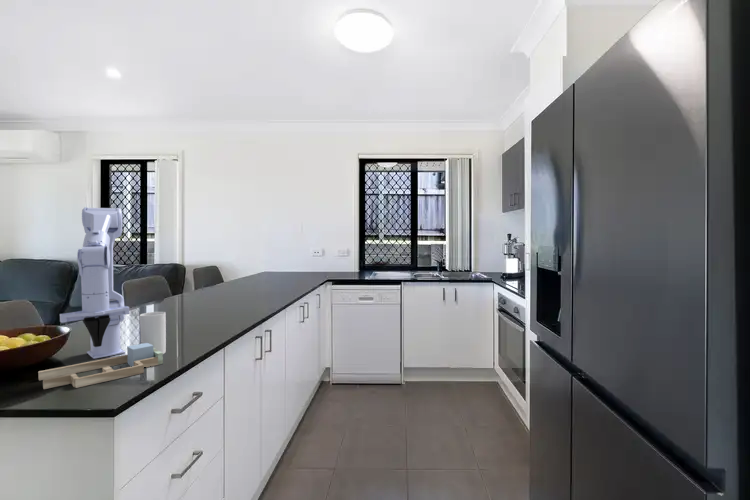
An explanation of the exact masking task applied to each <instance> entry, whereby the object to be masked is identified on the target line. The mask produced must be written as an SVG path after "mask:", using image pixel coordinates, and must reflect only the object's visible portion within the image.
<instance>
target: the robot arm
mask: <svg viewBox="0 0 750 500" xmlns="http://www.w3.org/2000/svg"><path fill="white" fill-rule="evenodd" d="M122 211H123V210H122V209H121V208H120V207H116V208H115V207H113V208H112V207H111V208H110V207H87V206H84V207H83V209H82V210H81V223H82V226H83V229H84V230H83V231H84V233H85V235H84V239H83V244H82V247H81V248H77V249H78V250H77V254H76V255H77V257H76V261H77V265H78V271H79V273H78V274H79V277H80V283H81V287H80V288H81V310H78V311H71V312H66V313H64V312H63V313H59V322H60V323H61V324H63V323H67V322H75V321H82V322H83V324H84V326H85V327H86V329H87V331H88V333H89V340H90V342H89V343H90V350H87V351H86V354H88V356H89V357H91V359H95V360H96V359H100V358H105V357H110V356H115V355H121V354H122V355H123V354H125V353H126V351H125V350H123V349H122V347H121V346H122V345H121V325H120V324H121V322H123V321H124V320H125V316H126V315H130V314H131V313H130V306H127V305H125V299H124V298H125V297H124V296H123V295H122V294H121V293H118V292H117V291H115V290H114V245H115V241H116V239H117V238H120V237H122V233H123V212H122Z"/></svg>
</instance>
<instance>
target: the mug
mask: <svg viewBox="0 0 750 500" xmlns="http://www.w3.org/2000/svg"><path fill="white" fill-rule="evenodd" d="M166 315H167V314H166V311H150V312H145V313H144V312H143V313H141V314H139V326H140V327H139V329H140V342H141V343H140V344H143V343H149V344H151V345H153V348H155V349H156V350H158V351H160V352H162V353H163V355H165V353H166V352H167V351H166V350H167V349H166V348H167V345H166V344H167V339H166V338H167V332H166V331H167V329H166V328H167V325H166V324H167V320H166V319H167V318H166Z"/></svg>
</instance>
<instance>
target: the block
mask: <svg viewBox="0 0 750 500" xmlns="http://www.w3.org/2000/svg"><path fill="white" fill-rule="evenodd" d="M126 347H127V349H126V350H127V354H126V355H128V363H127V365H128V366H129V367H131V366H134V361H137V360H142V359H147V358H152V357H154V349H153V345H151V344H149V343H143V344H141V343H140V344H133V345H132V344H131V345H127V346H126Z"/></svg>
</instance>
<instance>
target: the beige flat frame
mask: <svg viewBox="0 0 750 500" xmlns="http://www.w3.org/2000/svg"><path fill="white" fill-rule="evenodd" d="M153 349H154V357H152V358H147V359H142V360H137V361H134V366H132V367H131V366H127V367H123V368H118V369H113V368H112V367H113V366H118V365H122V364H123V365H124V364H128V355H127V354H122V355H118V356H114V357H107V358H101V359H97V360H96V359H95V360H90V361H87V362H86V361H85V362H81V363H75V364H72V365H71V364H70V365H66V366H59V367H54V368H49V369H45V370H39V371H38V372H37V373H38V381H42V388H43V390H47V389H48V390H49V389H51V388H57V387H61V386H66V385H69V384H70V385H71V386H72V387H73V388H76V389H78V388H82V387H86V386H87V387H88V386H91V385H95V384H100V383H104V382H108V381H110V382H111V381H114V380H118V379H123V378H126V377H127V378H128V377H132V376H136V375H141V374H145V373H144V370H145V368H144V367H146V368H149V367H150V366H151V367H154V366H159V365H162V364H164V356H163V355H164V354H163V353H162V352H160V351H158V350H156V349H155V348H153ZM98 369H101V370H102V371H101V372H99V373H95V374H90V375H84V376H80V377H79V376H78V375H77V374H79V373H83V372H89V371H94V370H98Z"/></svg>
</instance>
